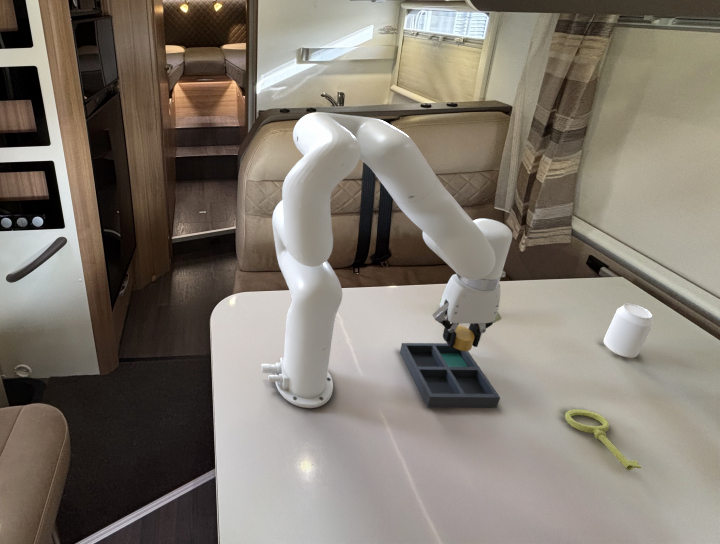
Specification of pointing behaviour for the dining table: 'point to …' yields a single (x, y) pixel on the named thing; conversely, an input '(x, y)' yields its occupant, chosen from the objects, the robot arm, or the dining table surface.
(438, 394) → the grid
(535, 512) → the dining table surface
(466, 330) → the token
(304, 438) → the dining table surface
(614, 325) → the beverage can
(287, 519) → the dining table surface
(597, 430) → the key
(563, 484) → the dining table surface
